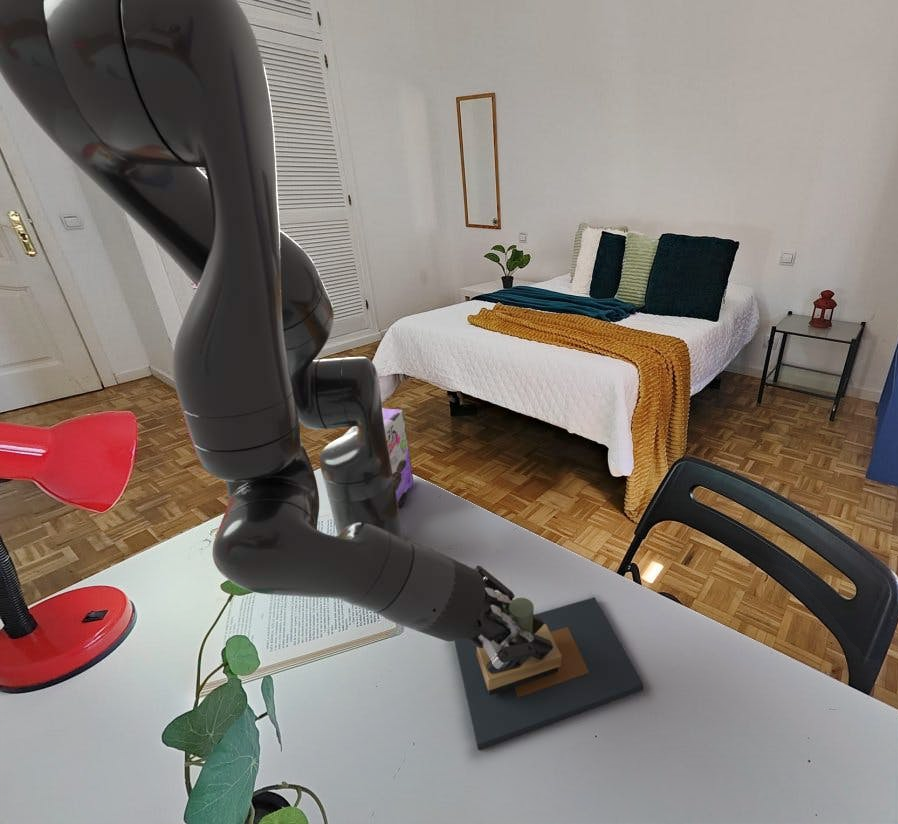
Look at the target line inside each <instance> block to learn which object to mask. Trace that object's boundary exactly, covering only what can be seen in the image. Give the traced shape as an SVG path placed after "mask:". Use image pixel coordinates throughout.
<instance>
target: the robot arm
mask: <svg viewBox="0 0 898 824" xmlns="http://www.w3.org/2000/svg"><path fill="white" fill-rule="evenodd" d="M0 75H1V76H2V79H3V80H4V81H5V83H6V85H7V86H8V88H9V89H10V91H11V92H12V93H13V95H14V97H15V98H16V99H17V100H18V101H19V103H20V104H21V105H22V107H23V108H24V110H25V111H26V112H27V114H29V116H30V117H31V118H32V120H33V121H34V122H35V123H36V124H37V126H38V127H39V128H40V129H41V130H42V131H43V132H44V134H45V135H47V137H48V138H49V139H50V140H51V141H52V142H53V143H54V144H55V145H56V146H57V147H58V148H59V149H60V150H61V151H62V152H63V153H64V155H66V157H67V158H69V159H70V160H71V161H72V163H74V165H76V166H77V167H78V168H79V169H80V170H81V171H82V172H83V173H84V174H85V175H86V176H87V177H88V178H89V179H90V180H91V181H92V182H93V183H95V184H96V185H97V187H98V188H99V189H101V190H102V191H103V192H104V193H105V194H106V195H107V196H108V197H109V198H110V199H111V200H112V201H113V202H115V203H116V204H117V205H118V207H120V208H121V209H122V210H123V212H124V213H126V214H127V215H128V216H129V217H130V218H131V219H133V221H135V223H136V224H137V225H139V226H140V228H142V229H143V230H144V231H145V232H146V233H147V235H149V236H150V237H151V239H152V240H154V242H155V243H157V245H158V246H160V248H161V249H162V250H163V251H164V252H165V253H166V254H167V255H168V257H169V258H170V259H171V260H172V262H174V263H175V264H176V266H178V268H179V270H181V271H182V272H183V273H184V275H185V276H186V277H187V278H188V279H189V280H190V282H192V284H193V285H194V286H195V288H196V289H195V293H194V295H193V297H192V299H191V301H190V303H189V306H188V308H187V310H186V312H185V315H184V317H183V320H182V323H181V325H180V327H179V330H178V333H177V336H176V340H175V342H174V343H175V344H174V348H173V354H172V355H173V356H172V375H173V381H174V386H175V392H176V395H177V400H178V403H179V406H180V409H181V412H182V415H183V418H184V422H185V425H186V428H187V432H188V434H189V437H190V440H191V444H192V447H193V450H194V453H195V456H196V458H197V459H198V461H199V464H200V465H201V467H202V468H203V469H204V470H205V471H206V472H207V473H208V474H209V475H211V476H212V477H215V478H216V479H219V480H222V481H224V482H225V487H226V492H227V499H228V502H227V506H226V508H225V512H224V514H223V516H222V520H221V522H220V525H219V527H218V530H217V532H216V535H215V537H214V540H213V544H212V560H213V563H214V565H215V568H217V570H218V571H219V573H220V574H221V576H223V577H224V578H225V579H226V580H228V581H229V582H231V583H232V584H233V585H235V586H237V587H239V588H241V589H243V590H246V591H249V592H251V593H252V592H253V593H256V594H263V595H269V596H270V595H271V596H287V597H303V598H304V597H305V598H316V599H317V598H318V599H319V598H320V599H321V598H323V599H337V600H340V601H343V602H345V603H347V604H349V605H353V606H356V607H358V608H361V609H364V610H366V611H369V612H371V613H375V614H377V615H379V616H381V617H382V618H384V619H386V620H388V621H390V622H392V623H395V624H396V625H400V626H403V627H405V628H407V629H410V630H414V631H416V632H419V633H422V634H424V635H428V636H431V637H433V638H436V639H439V640H442V641H444V642H450V643H451V642H455V641H457V640H463V639H467V640H469V641H470V642H472V643H473V644H474V645H475V646H477V647H479V648H484V649H485V651H486V653H487V654H488V656H489V658H490V661H489V662H488V663H487V665H486V667H487V670H488V671H489V672H490V673H491V674H497V673H500V672H504V671H508V670H512V669H516V668H519V667H520V666H521V665H522V664H523V663H524V662H525V661H526V660H527V659H528V658H529V657H530V656H532V657H534V658H537V659H539V660H541V659H543V658H544V657H545V656H546V655H547V654H548V653H549V652H550V651H551V650H552V649H553V645H552V643H551V641H550V640H548V639H545V638H543V637H540V636H538V635H536V634H535V633H536V632H537V631H538V630H539V629H540V628H541V627H542V626H543V625H544V623H543V621H542V618H540V617H538V616H536V615H535V614H534V613H533V626H532V633H530V632H528V631H526V630H524V629H523V628H521V627H519V623H518V621H517V620H515V619H514V618H512V617H510V616H509V605H510V603H511V602H512V601H513V600H514V599H515V593H514V592H513V591H512V590H511V589H509V588H508V587H507V586H506V585H505V584H503V583H502V582H501V581H500V580H498V579H497V578H496V577H495V576H493V574H491V573H490V572H489V571H487V570H486V569H485V568H483V567H482V566H481V565H477V566H476V567H474V568H473V567H471V566H469V565H466V564H464V563H463V562H460V561H458V560H456V559H455V558H452V557H450V556H448V555H445V554H443V553H441V552H439V551H437V550H435V549H433V548H431V547H428V546H425V545H423V544H419V543H415V542H412V541H410V540H407V539H405V538H404V532H403V525H402V520H401V514H400V509H399V508H400V507H402V506H403V505H404V504H405V501H406V499H407V496H408V492H407V493H405V492H404V493H403V494H402V496H401V499H400V501H399V502H397V496H396V490H395V485H394V479H393V474H392V468H391V462H390V457H389V451H388V446H387V440H386V433H385V427H384V421H383V412H382V408H383V404H382V395H381V386H380V379H379V375H378V370H377V368H376V366H375V364H374V362H373V361H372V360H371V359H370V358H368V357H366V356H353V357H352V356H351V357H349V356H348V357H337V358H336V357H335V358H322V359H316V358H317V357H318V356H319V355H320V353H321V352H322V351H323V349H324V348H325V346H326V344H327V342H328V340H329V339H330V336H331V333H332V331H333V327H334V322H335V312H334V311H335V310H334V306H333V303H332V300H331V298H330V295H329V293H328V291H327V289H326V286H325V285H324V282H323V280H322V278H321V275H320V273H319V270H318V269H317V267H316V265H315V263H314V261H313V260H312V258H311V256H309V254H308V253H307V252H306V251H305V250H304V249H303V248H302V247H301V246H300V244H298V243H297V242H296V241H295V240H293V239H292V238H291V237H290V236H289V235H287V234H286V233H285V232H284V231H282V230H281V229H280V213H279V212H280V211H279V197H278V196H279V195H278V194H279V193H278V179H277V178H278V177H277V159H276V142H275V141H276V140H275V139H276V138H275V130H274V128H275V127H274V117H273V116H274V115H273V108H272V102H271V101H272V100H271V95H270V88H269V83H268V78H267V72H266V67H265V65H264V61H263V57H262V53H261V51H260V47H259V43H258V41H257V38H256V35H255V33H254V31H253V28H252V26H251V24H250V22H249V19H248V17H247V16H246V14H245V12H244V9H243V7H241V5H240V3H239V2H238V1H237V0H0ZM200 168H202V169H204V171H205V173H204V172H203V171H202V170H201V169H200ZM300 425H301V426H303V427H304V428H306V429H309V430H314V431H315V430H316V431H323V430H334V429H345V428H352V427H355V426H357V427H358V428H357V429H355V430H354V431H352V432H350V433H349V434H347V435H344V434H343V435H344V436H342V435H341V436H342V437H341V436H339V437H338V438H336V439H334V440H332V441H331V442H330V443H328V444H327V445H326V446H325V447H323V449H322V450H321V451H320V454H319V459H318V462H319V467H320V471H321V475H322V479H323V482H324V488H325V489H326V490H325V491H326V495H327V498H328V502H329V506H330V510H331V514H332V518H333V522H334V527H335V530H336V534H337V535H336V536H335V535H332V534H331V535H330V534H327V533H325V532H322V531H320V530H318V523H319V514H320V494H319V488H318V482H317V478H316V475H315V471H314V469H313V466H312V462H311V460H310V457H309V455H308V452H307V450H306V447H305V445H304V443H303V441H302V437H301V426H300ZM515 637H518V638H519V639H518V640H517V641H516V642H513V641H512V640H513V639H514V638H515Z"/></svg>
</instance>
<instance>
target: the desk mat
mask: <svg viewBox="0 0 898 824" xmlns="http://www.w3.org/2000/svg"><path fill="white" fill-rule="evenodd" d="M534 615H536V616H538V617H540V618H542V621H543V623H544V624H546V625H547V627H548V629H549V631H550V633H551V635H552V637H553V639H554V641H555V643H556V645H557V647H558V649H559V651H560V653H561V655H562V658H561V666H559V667H558V672H556V673H553V674H551V675H548V676H545V677H542V678H539V679H536V680H533V681H530V682H527V683H524V684H522V685H519V686H516V687H513V688H510V689H507V690H504V691H501V692H498V693H495V694H493V695H489V693H488V690H487V687H486V684H485V681H484V678H483V674H482V671H481V668H480V665H479V661H478V658H477V646H475V645H474V644H473V643H472V642H470V641H469V640H467V639H463V640H457V641H454V646H455V650H456V656H457V660H458V665H459V669H460V674H461V679H462V684H463V688H464V693H465V696H466V702H467V707H468V710H469V715H470V721H471V726H472V729H473V734H474V738H475V742H476V748H477V750H482V749H485V748H487V747H490V746H492V745H495V744H499V743H501V742H504V741H506V740H509V739H512V738H514V737H517V736H520V735H523V734H525V733H526V734H527V733H528V732H531V731H534V730H536V729H539V728H541V727H544V726H547V725H550V724H553V723H556V722H558V721H561V720H564V719H566V718H569V717H572V716H575V715H577V714H581V713H583V712H585V711H588V710H591V709H593V708H596V707H599V706H602V705H605V704H607V703H611V702H612V701H616V700H618V699H621V698H623V697H627V696H629V695H632V694H634V693H637V692H640V691H643V690H644V685H645V684H644V683H643V681H642V679H641V677H640V675H639V674H638V672H637V670H636V668H635V667H634V665H633V663H632V661H631V660H630V659H631V658H630V657H629V656H628V654H627V652H626V650H625V649H624V647H623V645H622V643H621V641H620V639H619V638H618V636H617V634H616V632H615V631H614V629H613V627H612V625H611V624H610V622H609V619H608V618H607V616H606V615H605V613H604V611H603V610H602V607H601V606H600V604H599V602H598V600H597V598H596V597H594V596H593V597H589V598H587V599H583V600H580V601H577V602H573V603H569V604H566V605H563V606H559V607H556V608H553V609H549V610H546V611H542V612H539V613H536V614H534Z"/></svg>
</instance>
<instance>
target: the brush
mask: <svg viewBox="0 0 898 824" xmlns="http://www.w3.org/2000/svg"><path fill="white" fill-rule="evenodd" d="M534 609H535V606H534V604H533V602H532V601H531V600H530V599H528V598H526V597H516V598H513V601H512V602H511V603H510V605H509V616H510V617H512V618H514V619H515V620H517V621H518V623H519V627H521V628H523V629H524V630H526V631H528V632H530V633H532V626H533V614H534ZM535 634H536V635H538V636H540V637H543V638H545V639H548V640H550V641H551V643H552V645H553V649H552V650H551V651H550V652H549V653H548V654H547V655H546V656H545V657H544V658H543V659H541V660H539V659H537V658H534V657H532V656H530V657H529V658H528V659H527V660H526V661H525V662H524V663H523V664H522V665H521V666H520V667H519V668H516V669H512V670H508V671H504V672H500V673H497V674H491V673H490V672H489V671H488V670H487V667H486V665H487V663H488V662H489V661H490V658H489V656H488V654H487V653H486V651H485V649H484V648H479V647H477V658H478V661H479V665H480V668H481V671H482V674H483V678H484V681H485V684H486V687H487V690H488V693H489V695H493V694H495V693H498V692H501V691H504V690H507V689H510V688H513V687H516V686H519V685H522V684H524V683H527V682H530V681H533V680H536V679H539V678H542V677H545V676H548V675H551V674H553V673H556V672H558V667H559V666H561V658H562V655H561V653H560V651H559V649H558V647H557V645H556V643H555V641H554V639H553V637H552V635H551V633H550V631H549V629H548V627H547V625H546V624H544V625H543V626H542V627H541V628H540V629H539V630H538V631H537V632H536V633H535ZM518 639H519V638H518V637H515V638H514V639H513V640H512V641H513V642H516V641H517V640H518Z"/></svg>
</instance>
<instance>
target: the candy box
mask: <svg viewBox="0 0 898 824" xmlns="http://www.w3.org/2000/svg"><path fill="white" fill-rule="evenodd" d="M382 412H383V421H384V427H385V433H386V440H387V446H388V451H389V457H390V462H391V468H392V474H393V479H394V485H395V490H396V496H397V502H399V501H400V499H401V496H402V494H403V493H404V492H405V493H407V494H408V492H409V491H410V489H411V488H412V487H413V485H414V484H415V481H414V474H413V468H412V461H411V455H410V449H409V442H408V435H407V429H406V424H405V415H404V410H403V409H398V408H397V409H396V408H395V409H394V408H386V407H382ZM357 428H358V427H357V426H355V427H350V428H349V429H348V430H347V431H346V432H345V433H343V434H342V435H341V436H340V437H342V436H344V435H347V434H349V433H350V432H352V431H354V430H355V429H357Z"/></svg>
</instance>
